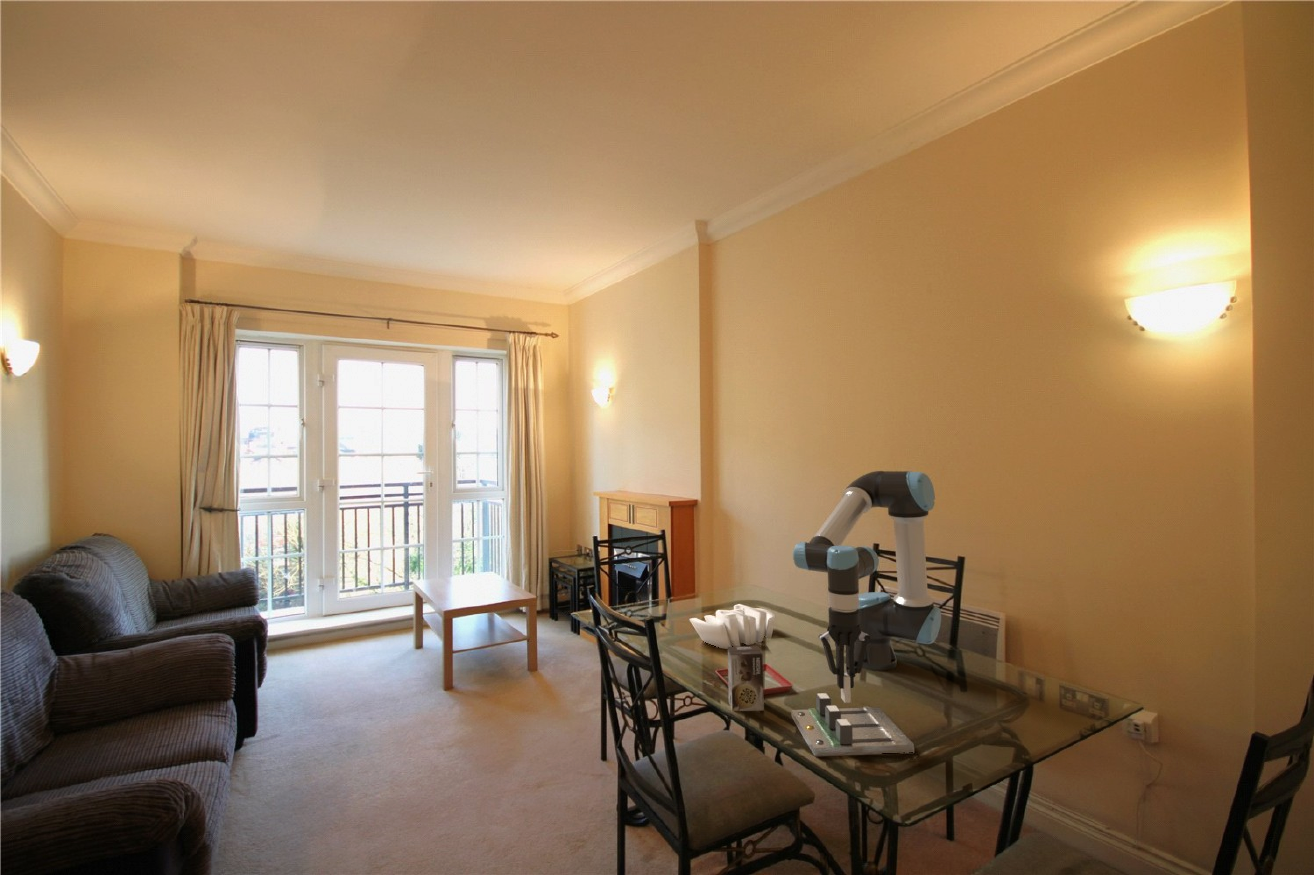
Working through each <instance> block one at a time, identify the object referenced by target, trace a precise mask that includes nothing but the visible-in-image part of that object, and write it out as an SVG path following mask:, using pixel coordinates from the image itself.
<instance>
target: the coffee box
mask: <svg viewBox="0 0 1314 875" xmlns="http://www.w3.org/2000/svg"><path fill="white" fill-rule="evenodd" d="M763 664H764V660H763V652H762V650H761V648H760V646H758V645H755V646H754V645H747V646H746V645H744V646H740V647H728V649H727V669H728V675H727V676H728V677H727V679H728V680H727V682H728V686H727V687H728V688H727V689H728V704H729V706H730V709H731V711H732V712H751V711H752V712H754V711H755V712H757V711H765V704H764V703H765V700H764V693H763V689H764V671H763Z"/></svg>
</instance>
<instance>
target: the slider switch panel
mask: <svg viewBox="0 0 1314 875" xmlns="http://www.w3.org/2000/svg"><path fill="white" fill-rule="evenodd" d="M839 710H840V711H841V719H847V720H848V721H849V722H850V723H851V724H852V732H853V744H840V742H839V741H838V740H837V738H836V729H830V728H829V727H828V726H827V724H826V723H825V715H820V714H819V713H818V712H817V710H816V707H808V709H791V712H790V713H791V718H792V720H793V721H794V723H795V725H796V727H797V728H798V730H799V732H800V734H801V735H802V737H803V739H804V741H805V743H806V744H807V746H808V747H809V749H810V750H811V752H812V754H813V756H814V757H838V756H839V757H840V756H865V755H867V756H868V755H871V756H872V755H883V754H882V753H897V752H898V753H900V754H910V753H909V752H913V753H912V754H914V753H915V744H914V743H913V741H911V740H910V739H909V737H908V736H906V735H905V733H904V732H903V731H902V730H901V729H900V728H899V727H898V726H897V725H896V724H895V723H894V722H893V720H892V719H890V717H889V716H888V715H887V714H886V713H884V711H883V710H881V708H880V707H879V706H878V707H874V706H873V707H871V706H870V705H869V706H866V705H865V706H863V707H849V708H845V707H844V708H839ZM903 752H905V753H903Z"/></svg>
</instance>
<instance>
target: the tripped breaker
mask: <svg viewBox="0 0 1314 875" xmlns="http://www.w3.org/2000/svg"><path fill="white" fill-rule="evenodd" d="M839 709H840V708H839V707H838V706H837V705H831V706H825V723H826V724H827V726H828V727H829V728H830V729H836V720H837V719H841V711H840V710H839Z"/></svg>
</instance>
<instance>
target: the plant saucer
mask: <svg viewBox="0 0 1314 875" xmlns="http://www.w3.org/2000/svg"><path fill="white" fill-rule="evenodd" d="M714 671H715V674H716V675H717V677H718V678H719V679H720V680H721V681H722V682H723V683H724V684H725V685H726V686H727V687H728V680H726V679H725V678H724V676H725V677H726V676H728V668H721V669H716V670H714ZM764 671H765V672H766V673H767V674H768V675H769V676H770V677H772V678H773V680H775V681H776V682H777V683H778V684H779V685H781V686H774V687H768V688H763V693H764V695H771V694H777V693H784V692H788V691H789V690H790V689H792V687H793V686H794V684H793V683H792V682H791V681H789V680H788V679H787V678H785V677H784V676H783V675H782V674H781V673H780V672H778V671H777V670H776V669H774V668H773V667H771V665H769V664H768V663H763V672H764Z"/></svg>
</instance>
